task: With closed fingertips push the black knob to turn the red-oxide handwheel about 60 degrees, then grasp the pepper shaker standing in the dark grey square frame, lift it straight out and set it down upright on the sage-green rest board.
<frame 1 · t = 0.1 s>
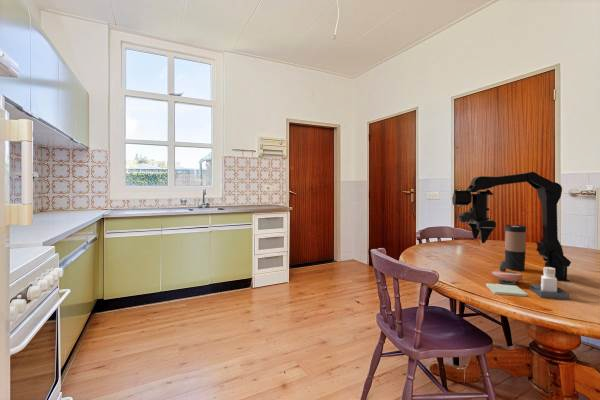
hand: (479, 241, 126), 14 cm above the table, fingers open, 9 cm apart
dark grey square frame: (548, 294, 103), on the table
travel mug: (514, 269, 134), on the table
wheel post: (506, 282, 116), on the table
handwheel: (506, 270, 116), point 5 cm above the table, hinge at 0.0°
pepper shaker: (548, 294, 103), resting in dark grey square frame
rest board: (505, 290, 107), on the table
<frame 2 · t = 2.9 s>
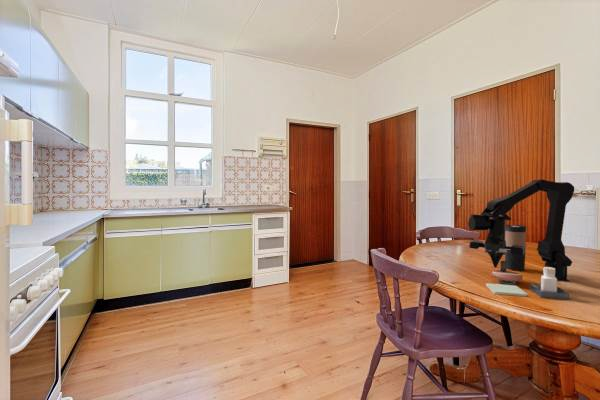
hand: (495, 267, 121), 4 cm above the table, fingers closed
handwheel: (506, 270, 116), point 5 cm above the table, hinge at 3.4°, touching gripper
everything else where it was.
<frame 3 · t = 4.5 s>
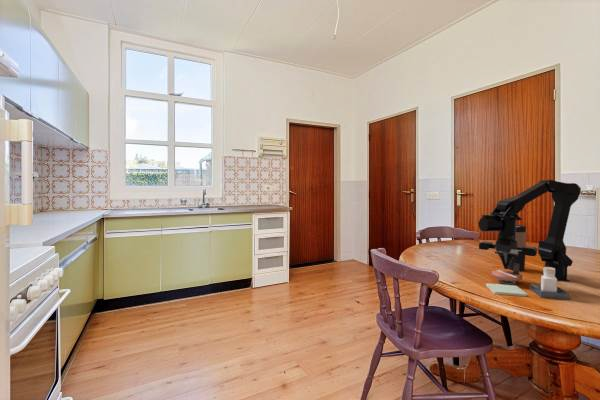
hand: (506, 269, 118), 4 cm above the table, fingers closed
handwheel: (506, 270, 116), point 5 cm above the table, hinge at 69.1°
everything else where it was.
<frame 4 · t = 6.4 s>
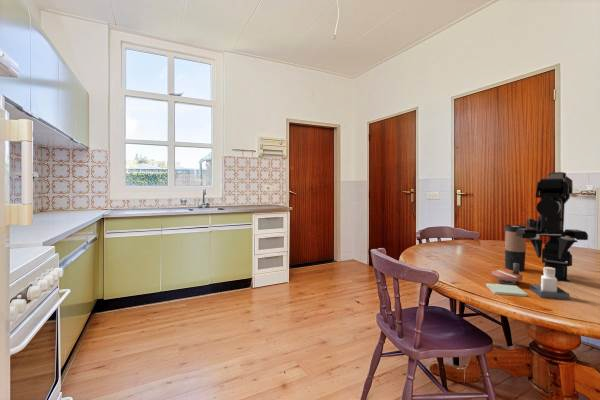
hand: (549, 258, 102), 13 cm above the table, fingers open, 6 cm apart
nothing on the table moved.
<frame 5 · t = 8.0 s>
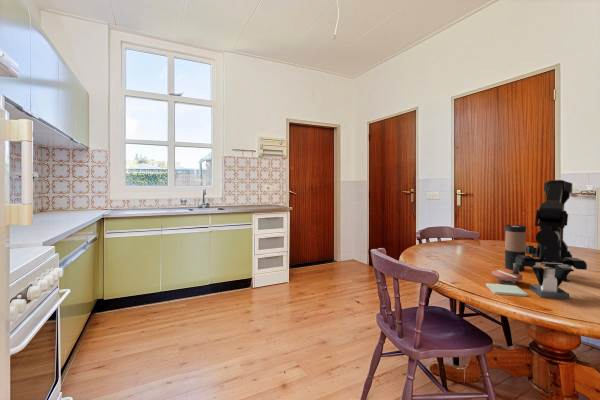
hand: (548, 285, 103), 3 cm above the table, fingers closed on pepper shaker, 4 cm apart
pepper shaker: (548, 294, 103), resting in dark grey square frame, touching gripper
everything else where it was.
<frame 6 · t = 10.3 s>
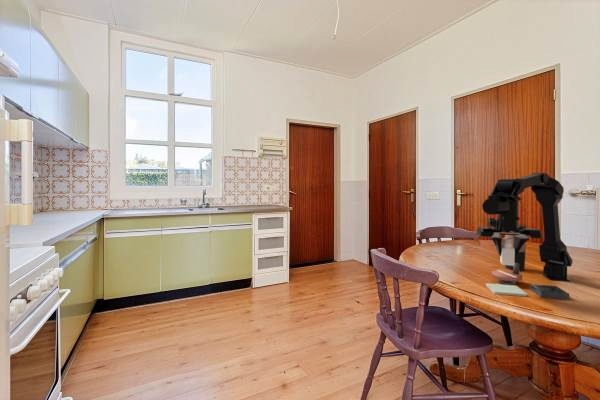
hand: (507, 255, 106), 13 cm above the table, fingers closed on pepper shaker, 4 cm apart
pepper shaker: (507, 264, 106), point 10 cm above the table, touching gripper
everything else where it was.
when the fingers open (5 cm above the table, at t = 12.1 s): pepper shaker stays where it is, resting on rest board.
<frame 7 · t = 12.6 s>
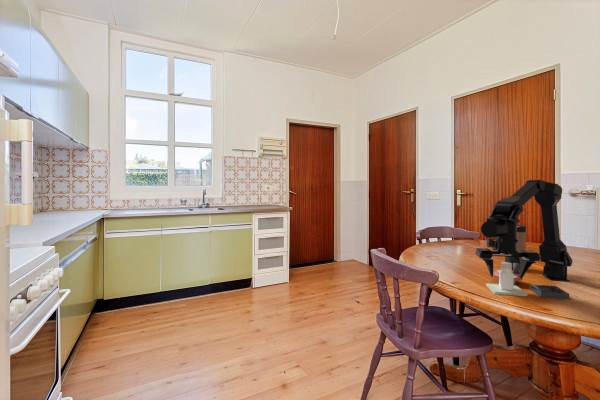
hand: (505, 277, 107), 5 cm above the table, fingers open, 9 cm apart
pepper shaker: (506, 289, 107), point 1 cm above the table, touching rest board
everything else where it was.
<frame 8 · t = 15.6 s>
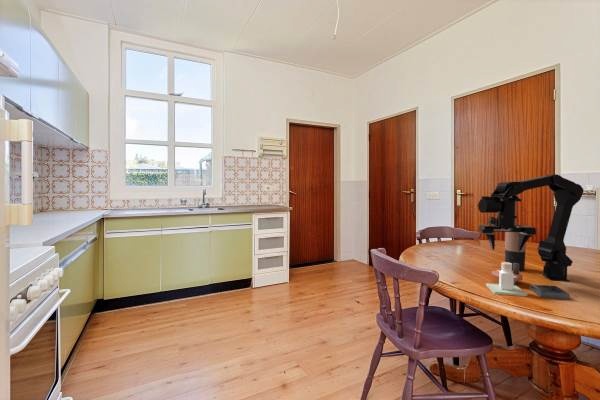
hand: (506, 250, 119), 12 cm above the table, fingers open, 9 cm apart
nothing on the table moved.
at the end: handwheel at +69° (first picture: +0°); pepper shaker inside the target area on the rest board (0.1 cm from its centre), point 0.6 cm above the rest board's base; pepper shaker tilted 0° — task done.
